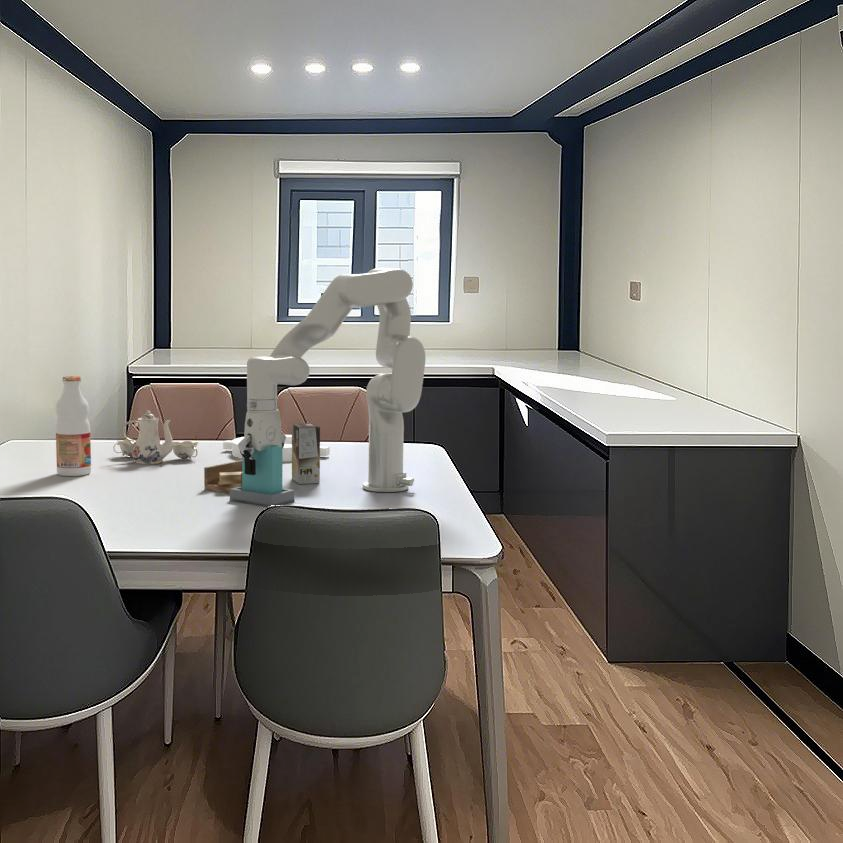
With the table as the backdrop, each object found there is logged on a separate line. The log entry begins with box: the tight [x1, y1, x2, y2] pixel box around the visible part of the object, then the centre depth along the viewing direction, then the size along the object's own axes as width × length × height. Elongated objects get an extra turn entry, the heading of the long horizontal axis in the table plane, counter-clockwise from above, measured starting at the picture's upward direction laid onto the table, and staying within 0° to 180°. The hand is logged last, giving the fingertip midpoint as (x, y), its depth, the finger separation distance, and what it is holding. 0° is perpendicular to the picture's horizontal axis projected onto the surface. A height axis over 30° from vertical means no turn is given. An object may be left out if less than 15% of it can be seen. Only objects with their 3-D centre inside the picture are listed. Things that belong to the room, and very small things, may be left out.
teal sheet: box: [241, 445, 283, 495], centre depth 272 cm, size 10×4×14 cm, turn 58°
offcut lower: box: [218, 482, 241, 488], centre depth 286 cm, size 7×4×2 cm, turn 67°
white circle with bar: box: [222, 434, 331, 463], centre depth 344 cm, size 28×28×5 cm
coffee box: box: [291, 422, 321, 485], centre depth 300 cm, size 9×6×16 cm
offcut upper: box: [219, 472, 242, 485], centre depth 285 cm, size 7×4×2 cm, turn 107°
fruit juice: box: [55, 375, 92, 477], centre depth 303 cm, size 9×9×28 cm
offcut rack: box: [203, 459, 242, 495], centre depth 288 cm, size 14×15×6 cm
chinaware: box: [113, 409, 199, 465], centre depth 329 cm, size 28×17×17 cm, turn 86°
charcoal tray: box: [229, 486, 296, 508], centre depth 273 cm, size 14×9×3 cm, turn 58°
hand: (262, 471), depth 272 cm, fingers open, 9 cm apart
